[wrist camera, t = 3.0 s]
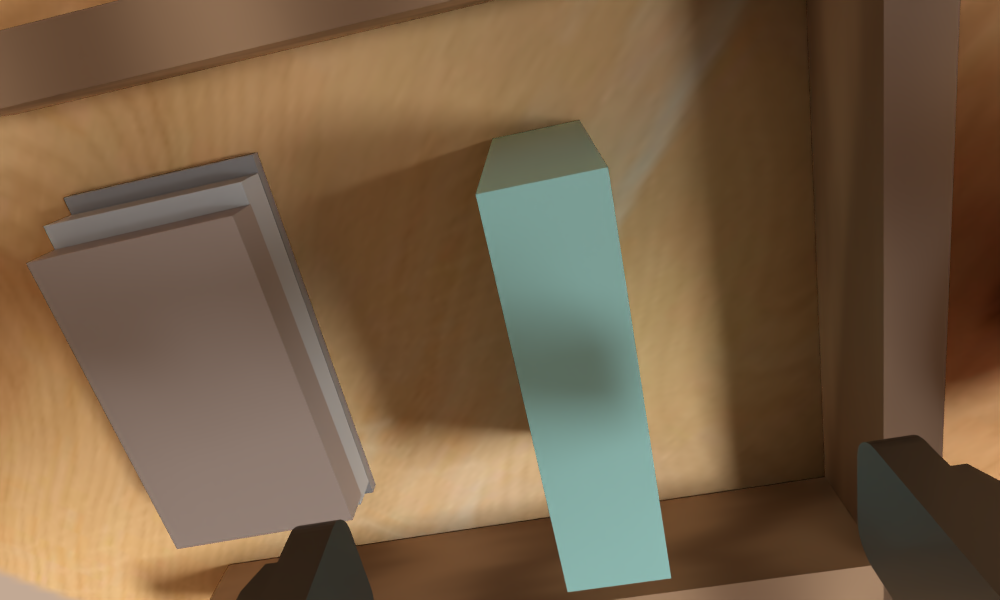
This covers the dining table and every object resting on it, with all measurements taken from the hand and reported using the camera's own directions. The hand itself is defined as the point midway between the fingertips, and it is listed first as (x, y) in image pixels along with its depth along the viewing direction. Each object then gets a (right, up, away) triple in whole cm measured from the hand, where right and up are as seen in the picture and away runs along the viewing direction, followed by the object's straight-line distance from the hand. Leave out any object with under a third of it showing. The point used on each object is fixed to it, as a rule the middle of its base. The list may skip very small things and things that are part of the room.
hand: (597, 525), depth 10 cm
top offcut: (-10, +1, +10) cm, 14 cm away
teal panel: (+1, +4, +10) cm, 11 cm away
